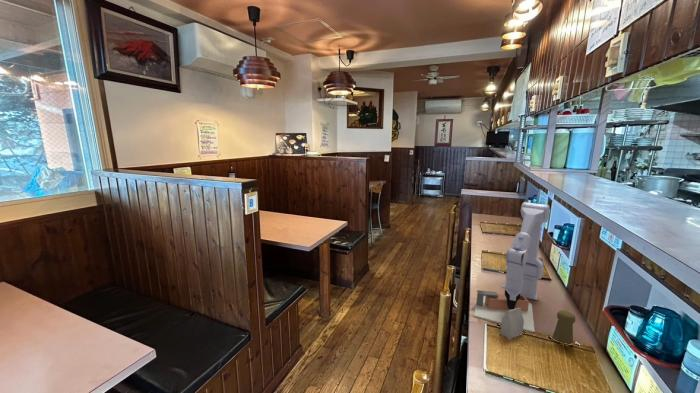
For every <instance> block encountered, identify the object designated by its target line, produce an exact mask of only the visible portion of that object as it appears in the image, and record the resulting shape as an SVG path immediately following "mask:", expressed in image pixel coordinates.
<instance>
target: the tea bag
mask: <svg viewBox="0 0 700 393" xmlns="http://www.w3.org/2000/svg"><path fill="white" fill-rule="evenodd" d="M523 324H524V319H523V316H522V312H521V308H520V307H519V308H516V309H513V310H510V311H507V313H506V315H505V316H504V317H503V318H502V323H501V326H500V333H502V334H503V335H505V336H506V337H507V338H506V337H505V336H504V337H505V338H506V339H508V338H509V339H510V340H512V339H511V338H513V337H515V338H517V337H516V336H518V335H520V334H522V335H523V332H524V330H523ZM502 334H501V335H502ZM503 335H502V336H503ZM518 337H519V336H518ZM509 339H508V340H509ZM513 339H514V338H513Z"/></svg>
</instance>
